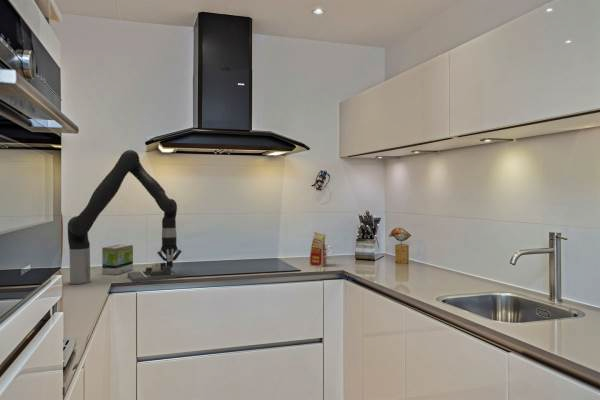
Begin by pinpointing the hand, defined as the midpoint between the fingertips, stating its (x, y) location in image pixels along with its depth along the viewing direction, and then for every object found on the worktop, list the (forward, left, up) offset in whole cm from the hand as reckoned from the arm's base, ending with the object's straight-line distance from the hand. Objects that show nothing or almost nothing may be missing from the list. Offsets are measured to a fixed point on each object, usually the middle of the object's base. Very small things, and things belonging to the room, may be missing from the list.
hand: (169, 268), depth 243 cm
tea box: (-23, +26, -4) cm, 35 cm away
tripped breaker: (-7, 0, -2) cm, 7 cm away
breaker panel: (-9, 0, -4) cm, 10 cm away
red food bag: (+84, -15, -4) cm, 86 cm away
